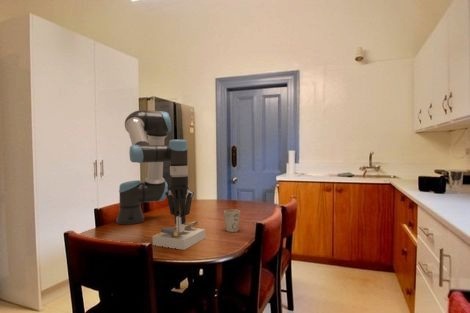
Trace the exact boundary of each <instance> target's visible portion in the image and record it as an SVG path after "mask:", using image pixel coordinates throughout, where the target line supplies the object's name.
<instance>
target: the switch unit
mask: <svg viewBox="0 0 470 313" xmlns="http://www.w3.org/2000/svg"><path fill="white" fill-rule="evenodd" d="M174 227H176V225H175V226H174ZM204 239H206V229H205V228H197V227H191V228H188V229H186V230H184V233H183V235H180V236H174V235H170V234H166V233H162V232H161V231H160V232H158V233H156V234H154V235H152V246H155V245H156V247H162V246H163V247H162V248H168V247H169V249H175V248H176V250H177V249H178V250H182V251H183V250H184V251H185V250H187V249H188V248H190V247H192V246H194V245H196V244H198V243H199V242H200V241H203V240H204Z"/></svg>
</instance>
